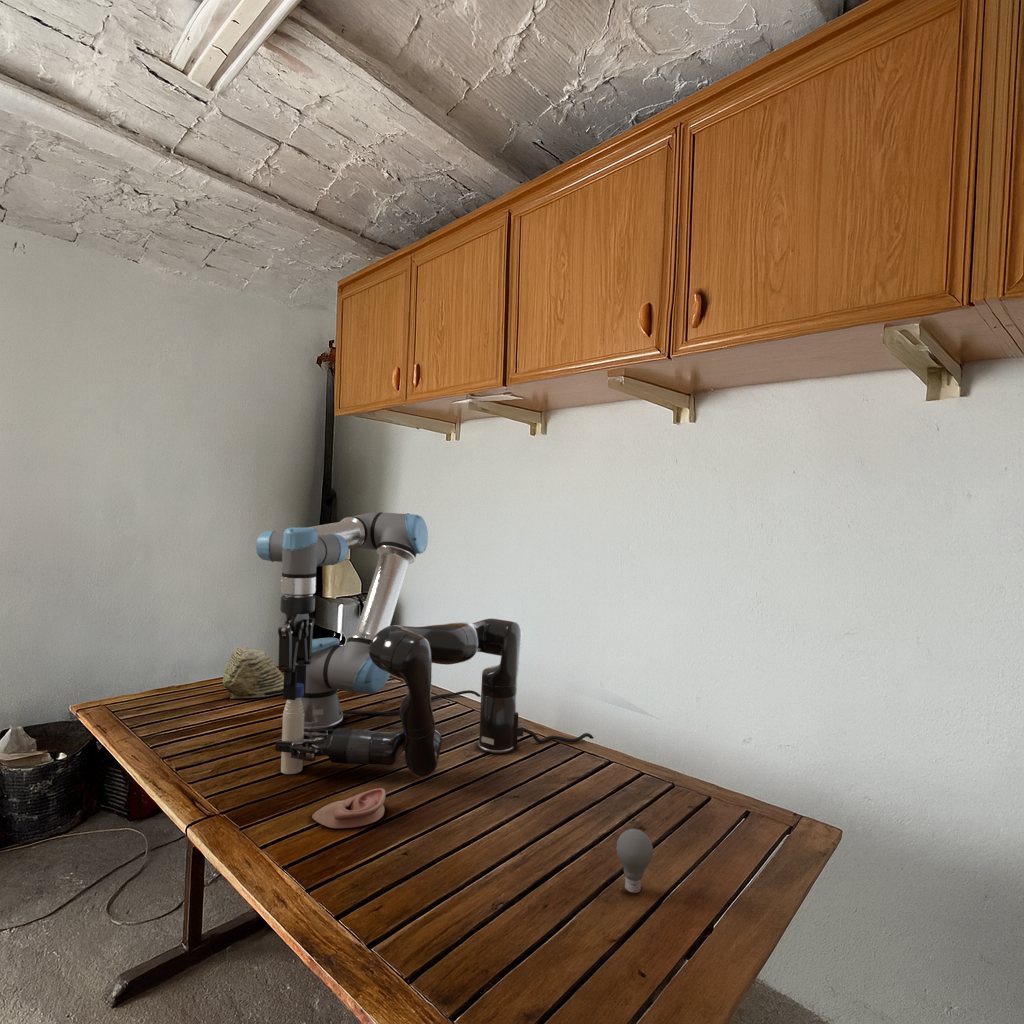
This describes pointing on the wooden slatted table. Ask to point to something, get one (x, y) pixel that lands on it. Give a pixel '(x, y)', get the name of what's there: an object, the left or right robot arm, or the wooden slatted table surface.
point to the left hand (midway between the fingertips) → (294, 695)
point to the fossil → (252, 674)
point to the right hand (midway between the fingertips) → (281, 741)
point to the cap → (299, 690)
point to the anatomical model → (353, 810)
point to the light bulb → (634, 857)
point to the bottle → (292, 734)
